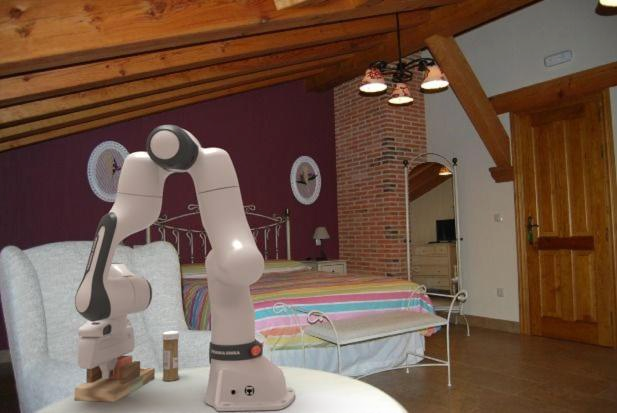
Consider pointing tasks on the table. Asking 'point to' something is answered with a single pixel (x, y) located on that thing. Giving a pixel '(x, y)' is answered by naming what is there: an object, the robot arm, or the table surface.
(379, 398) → the table surface
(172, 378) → the sprinkles bottle
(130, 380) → the wooden block stand
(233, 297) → the robot arm
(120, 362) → the brick-red block
